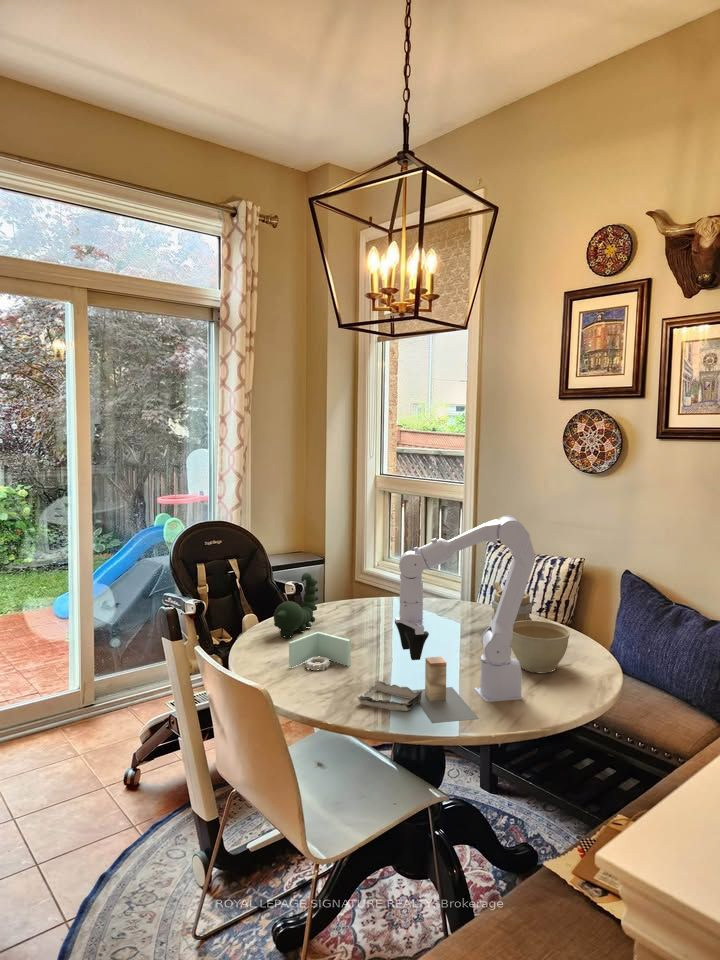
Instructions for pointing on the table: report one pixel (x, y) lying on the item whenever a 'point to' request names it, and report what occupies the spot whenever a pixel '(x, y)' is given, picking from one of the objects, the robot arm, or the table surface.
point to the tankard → (523, 609)
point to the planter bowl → (539, 644)
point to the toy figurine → (297, 610)
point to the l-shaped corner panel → (319, 651)
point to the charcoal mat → (446, 707)
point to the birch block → (435, 678)
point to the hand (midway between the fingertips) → (411, 654)
